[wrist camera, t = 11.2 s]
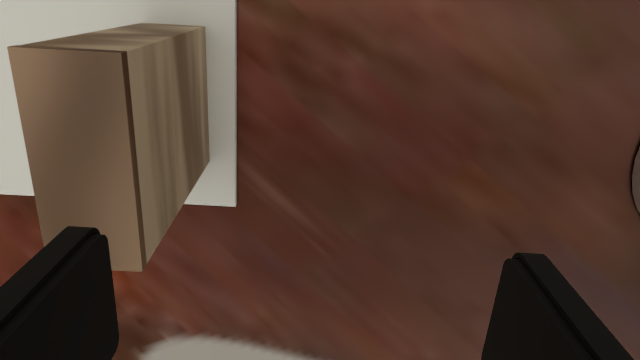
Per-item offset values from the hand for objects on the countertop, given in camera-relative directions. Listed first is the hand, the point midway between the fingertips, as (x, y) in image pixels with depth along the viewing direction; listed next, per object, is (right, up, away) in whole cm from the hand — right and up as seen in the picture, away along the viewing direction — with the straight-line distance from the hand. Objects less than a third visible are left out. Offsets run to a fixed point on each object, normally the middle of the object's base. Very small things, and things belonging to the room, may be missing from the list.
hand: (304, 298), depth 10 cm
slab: (-8, +8, +17) cm, 21 cm away
